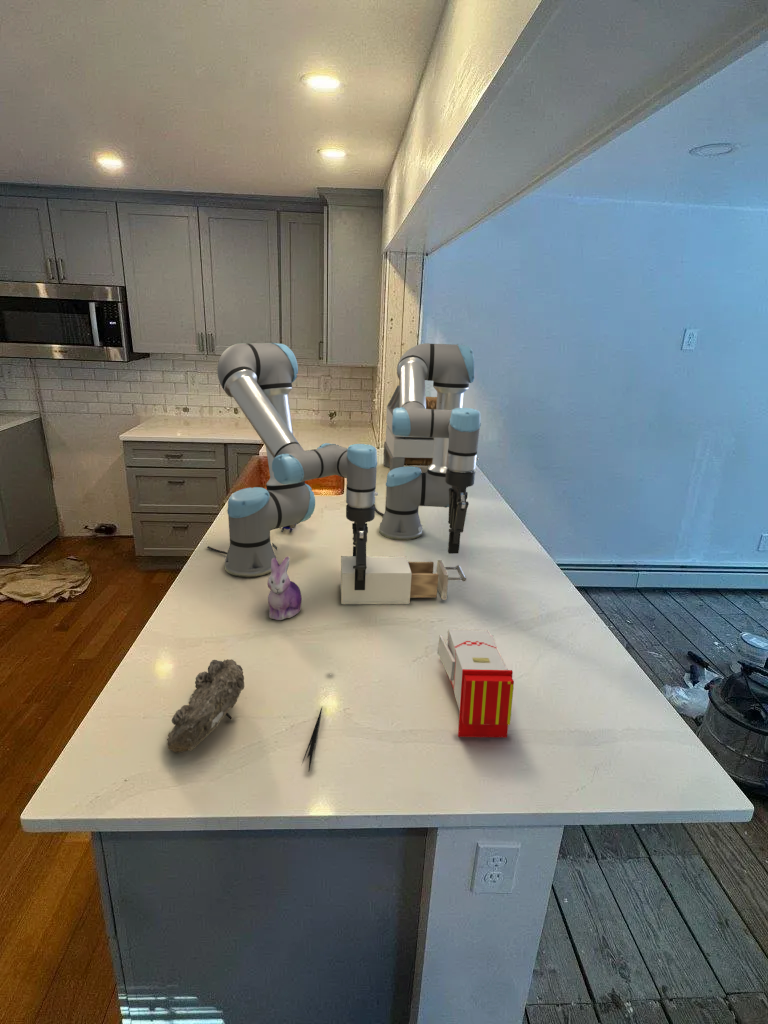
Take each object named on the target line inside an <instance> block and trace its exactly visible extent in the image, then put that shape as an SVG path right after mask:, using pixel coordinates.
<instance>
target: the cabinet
mask: <svg viewBox="0 0 768 1024" xmlns="http://www.w3.org/2000/svg"><path fill="white" fill-rule="evenodd" d="M408 562H409V561H408V557H407V556H406V555H366V566H367V568H366V574H365V590H355V569H353V566H355V565H356V556H353V555H341V556H340V599H341V601H340V602H341V603H340V604H341V605H410V602H411V598H410V590H411V575H412V573H411V570H410V567H409V563H408Z"/></svg>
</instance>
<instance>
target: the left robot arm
mask: <svg viewBox="0 0 768 1024" xmlns="http://www.w3.org/2000/svg"><path fill="white" fill-rule="evenodd" d="M216 371H217V372H216V373H217V378H218V382H219V385H220V386H221V388H222V390H223V391H224V393H225V394H226V395H227V397H230V398H233V399H234V401H235V402H236V404H237V405H238V407H239V409H240V410H241V411H242V413H243V414H244V416H245V418H247V420H248V421H249V423H250V425H251V426H252V428H253V430H254V431H255V432H256V434H257V435H258V437H259V438H260V440H261V441H262V443H263V444H264V446H265V450H266V457H267V464H268V471H269V479H268V480H267V482H266V484H265V486H266V488H264V487H260V486H254V487H246V488H241V489H239V490H237V491H234V492H233V493H232V494H231V495H230V496H229V498H228V501H227V511H226V512H227V517H228V519H227V520H228V533H229V534H228V536H229V545H228V549H227V551H224V550H220V549H217V548H214V547H211V546H209V545H208V546H206V548H207V550H210V551H212V552H215V553H218V554H222V555H226V556H225V559H224V570H225V571H226V573H228V574H229V575H231V576H234V577H239V578H258V577H262V576H265V575H268V574H271V561H272V559H273V558H276V559H277V556H276V554H275V551H278V546H277V545H276V544H275V543H273V542H271V531H273V530H278V529H282V528H283V527H285V526H289V525H293V524H296V525H298V524H301V523H303V522H306V521H308V520H309V519H310V518H311V517H312V515H313V514H314V511H315V508H316V496H315V493H314V491H313V488H312V487H311V486H310V485H309V484H307V483H306V482H307V481H311V480H317V479H322V478H326V477H332V476H338V477H341V478H343V479H344V478H345V479H346V489H345V490H346V491H345V493H346V494H345V496H346V497H345V503H346V505H345V518H346V519H347V520H348V521H350V522H353V523H352V524H351V528H352V534H353V535H352V545H353V546H352V556H356V565H355V566H353V569H355V590H365V574H366V568H367V566H366V556H367V543H368V533H369V526H368V522H372V521H374V519H375V517H376V516H375V515H376V511H375V507H376V505H375V506H374V504H375V503H376V497H377V496H379V494H378V492H377V491H376V488H377V486H376V485H377V470H378V469H377V468H378V451H377V448H376V447H375V446H374V445H372V444H365V443H354V444H353V443H352V444H350V445H349V446H348V447H344V446H341V445H339V444H336V443H329V442H324V443H322V444H320V445H319V446H318V447H317V448H315V449H308V450H307V449H306V450H305V449H304V448H303V446H302V445H301V444H300V442H299V441H298V440H297V438H296V437H295V435H294V430H293V423H292V422H293V421H292V415H291V408H290V407H291V405H290V399H289V394H290V392H291V391H292V390H293V384H292V383H294V382H295V381H296V380H297V378H298V374H299V365H298V360H297V358H296V356H295V353H294V352H293V350H292V349H290V347H289V346H288V345H286V344H284V343H278V342H277V343H276V342H253V343H252V342H250V343H248V342H247V343H245V342H240V343H235V344H232V345H230V346H228V347H227V348H225V350H224V351H222V353H221V355H220V357H219V359H218V362H217V368H216Z"/></svg>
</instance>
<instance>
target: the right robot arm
mask: <svg viewBox="0 0 768 1024" xmlns="http://www.w3.org/2000/svg"><path fill="white" fill-rule="evenodd" d="M475 365H476V364H475V355H474V350H473V349H472V347H471V346H469V345H465V344H458V343H457V344H453V343H452V344H449V343H448V344H447V343H429V342H424V343H419V344H416V345H414V346H412V347H411V348H409V349H408V350H407V351H405V352H404V353H403V355H401V357H400V358H399V360H398V363H397V365H396V376H397V378H398V380H399V385H400V406H399V408H395V409H394V410H393V418H392V433H393V434H394V435H399V436H405V437H408V436H411V437H434V447H433V461H432V464H431V465H428V466H427V471H426V472H422V469H421V468H420V467H419V466H407V465H404V467H399V468H395V469H393V470H391V471H390V470H389V471H388V473H387V475H386V482H385V486H386V488H385V489H386V490H385V504H384V505H385V507H384V508H385V509H384V512H381V511H379V510H378V509H377V508H376V505H375V504H374V506H375V513H377V515H378V514H379V515H380V516H381V517H382V519H381V522H379V526H378V533H379V534H380V535H381V536H382V537H385V538H387V539H389V540H395V541H410V540H415V539H418V538H420V537H421V536H422V535H423V525H422V524H421V518H420V515H419V507H433V508H434V507H435V508H445V509H447V508H448V520H447V523H448V525H449V528H448V533H449V534H448V543H447V545H448V546H447V553H448V555H450V554H451V555H452V554H453V555H454V554H457V555H458V554H460V543H461V534H462V533H464V528H465V522H466V517H467V512H468V511H467V510H468V507H469V505H470V504H469V501H467V499H468V493H469V492H468V491H467V488H470V487H472V486H474V484H475V481H476V480H475V478H476V471H475V470H476V467H477V461H479V457H478V456H477V455H478V447H479V438H480V429H481V426H482V423H481V412H480V410H478V409H475V408H472V407H471V408H470V407H463V403H464V393H466V391H468V390H469V389H470V388H469V386H470V384H472V383H474V381H475V374H476V367H475ZM426 381H428V382H429V381H430V382H433V383H432V388H434V390H435V391H436V397H437V404H436V409H426V397H427V396H426Z"/></svg>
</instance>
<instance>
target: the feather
mask: <svg viewBox="0 0 768 1024" xmlns="http://www.w3.org/2000/svg"><path fill="white" fill-rule="evenodd" d="M329 675H330V676H331V675H332V674H331V673H330V674H329ZM322 710H323V707H321V708H320V710H319V713H318V716H317V719H316V723H315V725H314V728H313V731H312V733H311V737H310V739H309V742H308V745H307V748H306V751H305V754H304V757H303V760H302V763H301V767H302V765H303V763H304V761H305V758H308V759H309V760H308V762H307V763H308V764H307V766H308V771H310V770H311V766H312V765H311V764H312V760H313V757H315V756H314V755H315V751H316V749H315V746H317V739H318V733H319V729H320V722H321V717H322V712H323V711H322ZM313 754H314V755H313ZM306 755H307V757H306Z"/></svg>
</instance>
